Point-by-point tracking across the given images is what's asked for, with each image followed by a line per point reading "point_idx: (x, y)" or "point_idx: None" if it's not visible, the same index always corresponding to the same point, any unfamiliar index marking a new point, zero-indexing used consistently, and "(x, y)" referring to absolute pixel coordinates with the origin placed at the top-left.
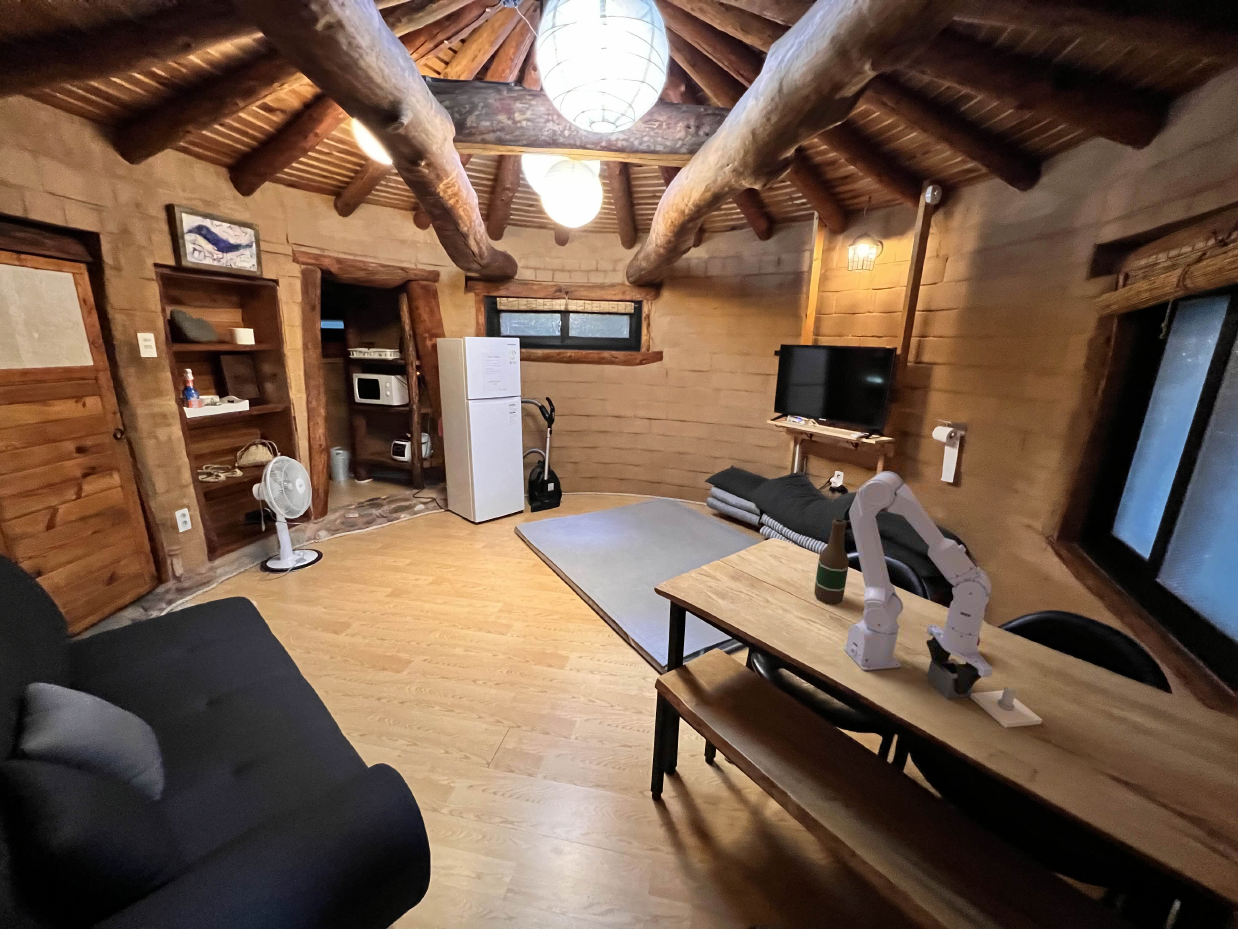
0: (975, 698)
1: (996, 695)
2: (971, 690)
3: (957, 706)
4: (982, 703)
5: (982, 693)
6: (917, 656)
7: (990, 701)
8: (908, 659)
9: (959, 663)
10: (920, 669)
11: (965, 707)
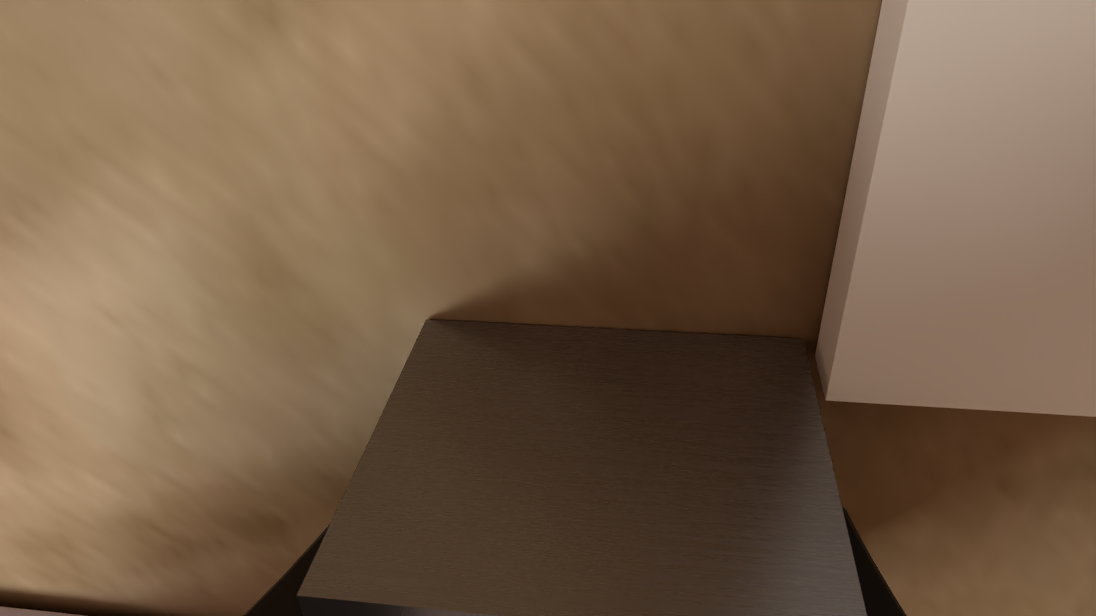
0: (907, 393)
1: (1020, 30)
2: (816, 416)
3: (886, 578)
4: (1040, 411)
5: (886, 251)
6: (18, 367)
7: (1074, 277)
8: (113, 490)
9: (443, 609)
10: (279, 496)
11: (931, 524)
